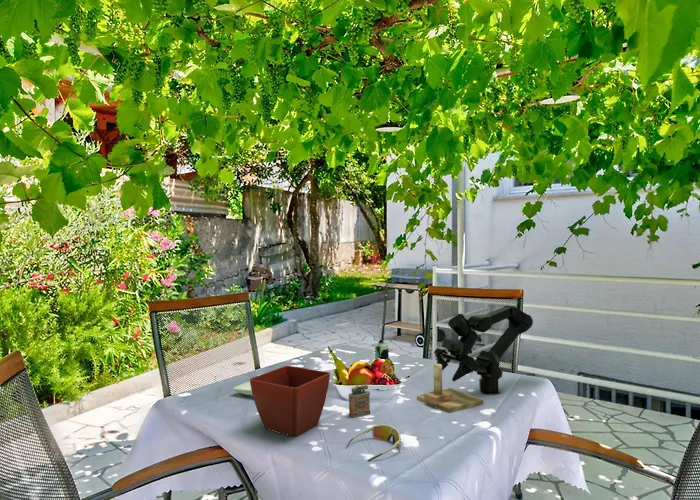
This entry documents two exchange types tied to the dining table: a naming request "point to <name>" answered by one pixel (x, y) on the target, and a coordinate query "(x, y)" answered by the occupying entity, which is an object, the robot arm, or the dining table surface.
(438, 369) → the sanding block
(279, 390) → the plant pot
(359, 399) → the lighter
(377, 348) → the spray can
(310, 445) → the dining table surface
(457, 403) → the board
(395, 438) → the sunglasses
